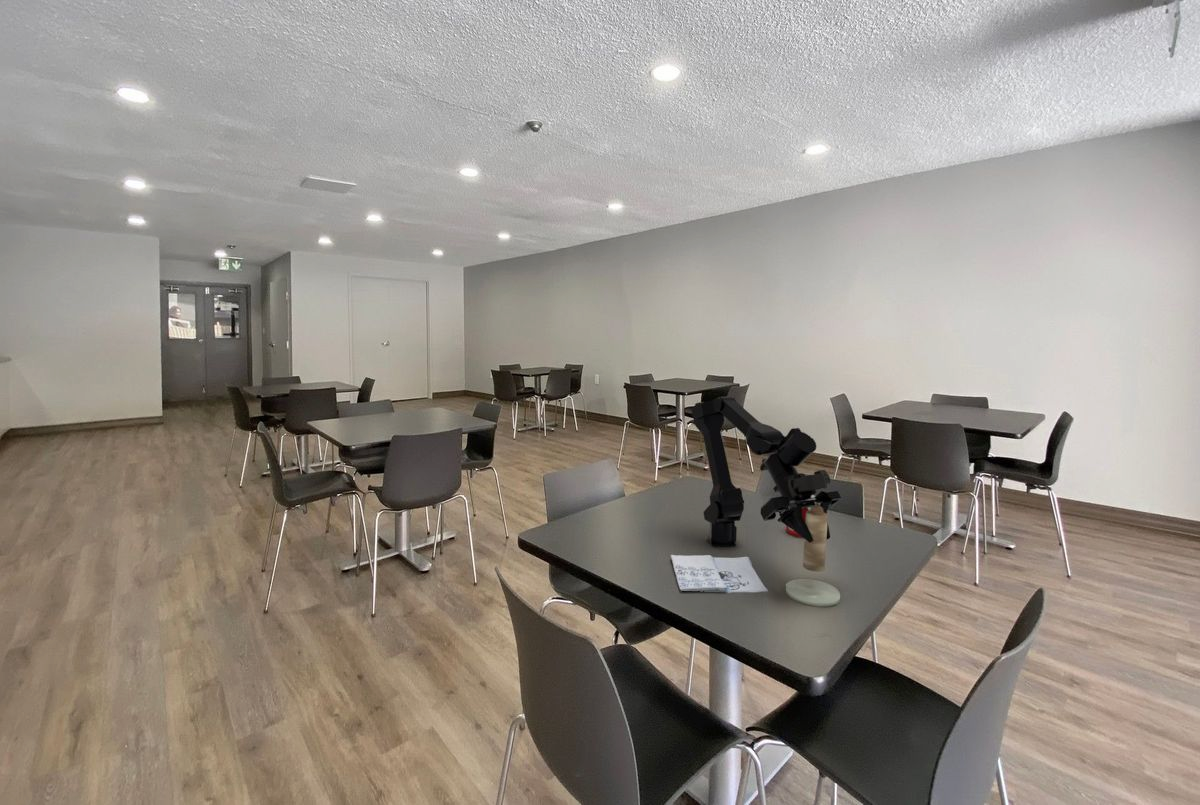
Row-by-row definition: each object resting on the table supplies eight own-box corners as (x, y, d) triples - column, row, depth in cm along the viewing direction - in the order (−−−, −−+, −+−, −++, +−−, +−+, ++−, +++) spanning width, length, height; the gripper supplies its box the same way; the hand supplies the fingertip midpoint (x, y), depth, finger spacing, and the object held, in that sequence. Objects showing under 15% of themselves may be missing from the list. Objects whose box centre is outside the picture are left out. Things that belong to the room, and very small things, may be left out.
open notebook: (670, 560, 137) (670, 552, 137) (750, 561, 136) (750, 553, 136) (678, 595, 118) (678, 586, 118) (771, 597, 117) (772, 588, 117)
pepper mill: (801, 569, 116) (805, 506, 114) (803, 561, 120) (807, 500, 118) (824, 573, 114) (827, 509, 112) (825, 565, 118) (828, 503, 116)
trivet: (795, 606, 112) (795, 601, 112) (779, 582, 123) (779, 578, 123) (848, 607, 112) (849, 602, 112) (828, 583, 123) (828, 579, 123)
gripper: (771, 461, 114) (807, 528, 105) (837, 454, 121) (876, 517, 113) (746, 488, 122) (777, 552, 113) (809, 480, 129) (843, 540, 121)
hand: (820, 540), depth 115 cm, fingers closed on pepper mill, 4 cm apart
